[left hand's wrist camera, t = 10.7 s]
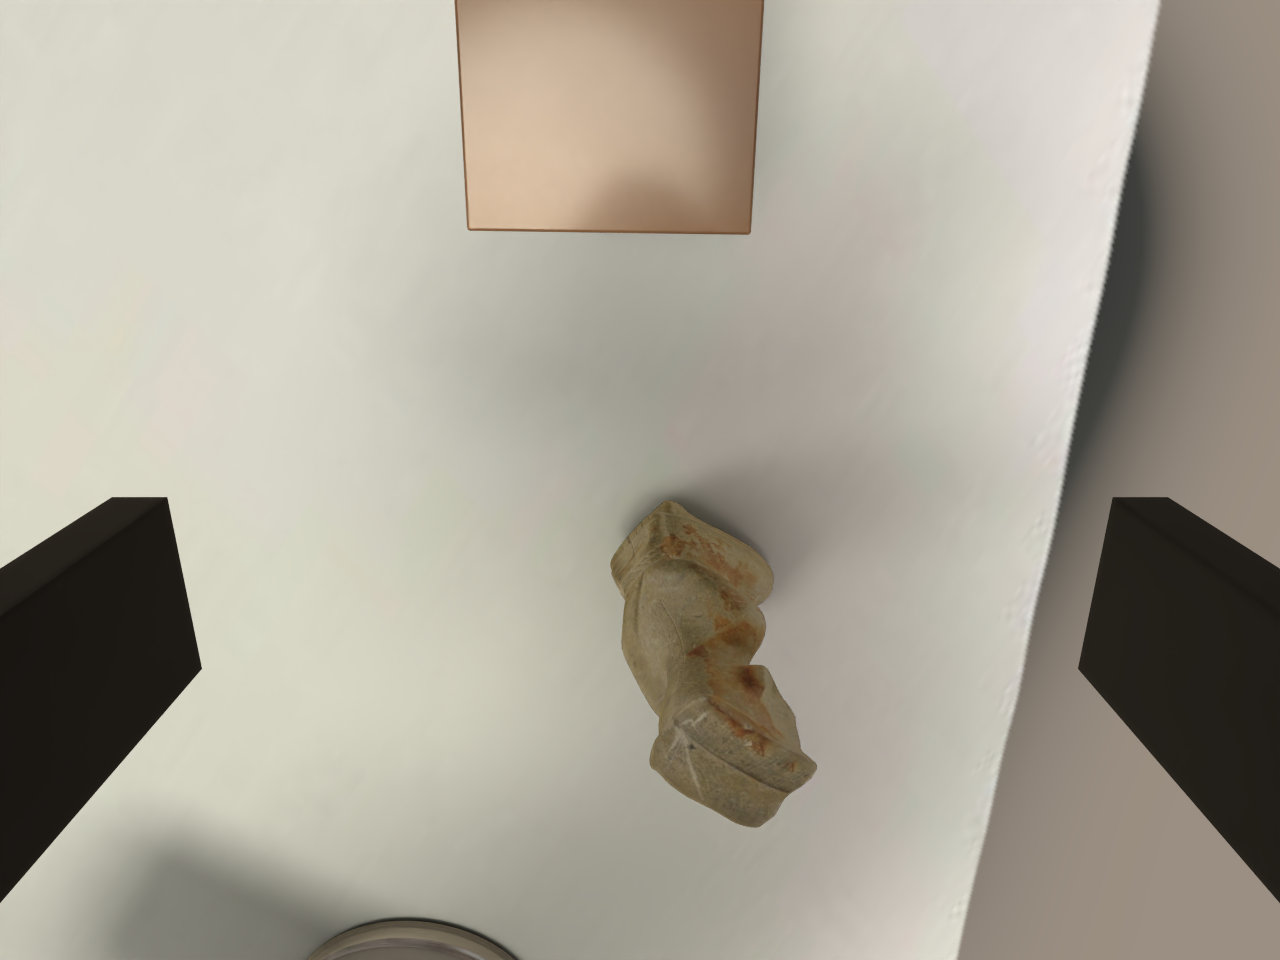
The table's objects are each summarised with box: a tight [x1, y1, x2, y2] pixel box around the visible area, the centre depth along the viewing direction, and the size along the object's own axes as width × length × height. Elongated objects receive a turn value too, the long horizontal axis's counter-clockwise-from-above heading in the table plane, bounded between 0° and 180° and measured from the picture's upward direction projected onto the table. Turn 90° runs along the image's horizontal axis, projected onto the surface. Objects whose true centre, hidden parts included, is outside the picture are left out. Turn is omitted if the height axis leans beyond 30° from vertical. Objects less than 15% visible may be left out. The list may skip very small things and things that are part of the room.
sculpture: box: [611, 500, 817, 828], centre depth 34 cm, size 6×7×15 cm
